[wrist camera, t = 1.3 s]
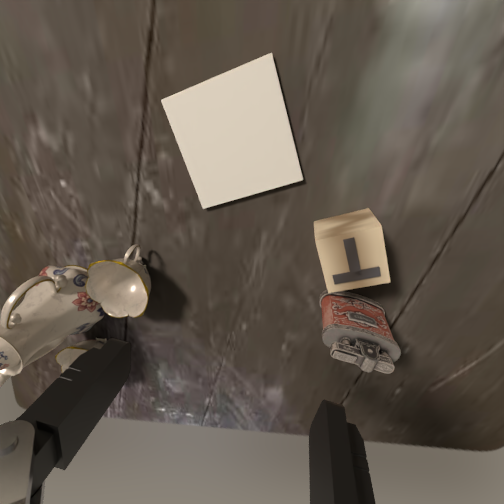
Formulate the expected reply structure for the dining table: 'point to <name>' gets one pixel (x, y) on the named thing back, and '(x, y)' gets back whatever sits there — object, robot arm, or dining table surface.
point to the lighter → (358, 331)
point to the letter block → (351, 251)
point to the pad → (235, 133)
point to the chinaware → (69, 309)
